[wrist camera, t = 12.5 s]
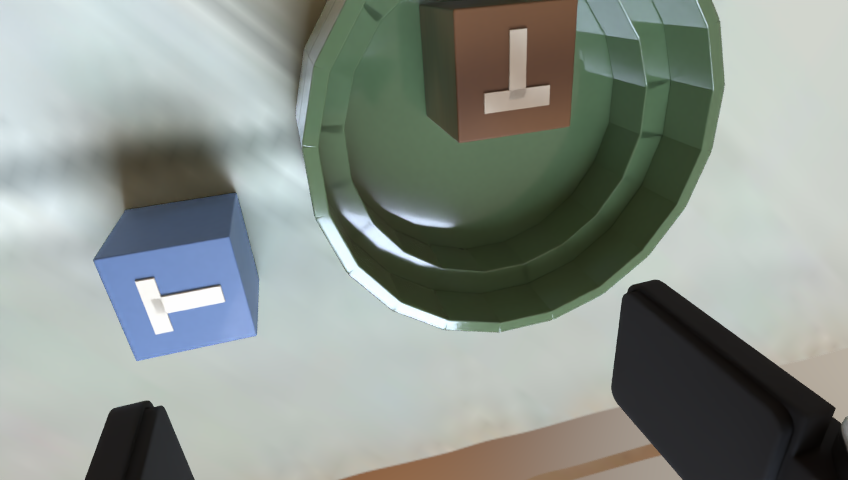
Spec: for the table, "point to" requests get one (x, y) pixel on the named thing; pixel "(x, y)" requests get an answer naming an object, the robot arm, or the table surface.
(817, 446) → the robot arm
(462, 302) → the faceted green bowl
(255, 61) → the table surface
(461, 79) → the walnut block
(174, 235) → the periwinkle blue block
